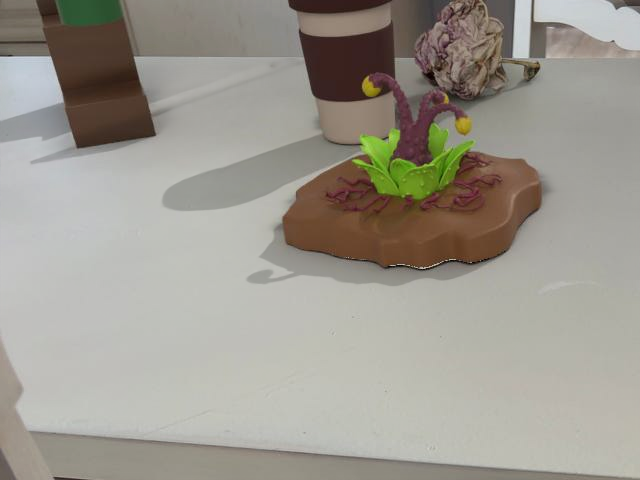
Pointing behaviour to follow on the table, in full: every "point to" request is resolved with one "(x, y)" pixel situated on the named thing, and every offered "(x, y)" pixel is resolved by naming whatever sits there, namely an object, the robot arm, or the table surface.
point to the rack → (97, 79)
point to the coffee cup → (348, 64)
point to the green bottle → (88, 12)
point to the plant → (414, 194)
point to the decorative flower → (465, 51)
